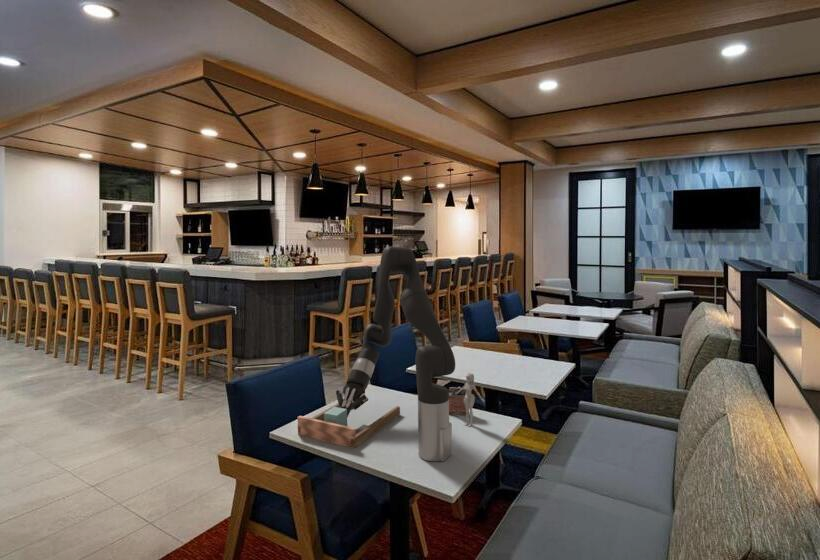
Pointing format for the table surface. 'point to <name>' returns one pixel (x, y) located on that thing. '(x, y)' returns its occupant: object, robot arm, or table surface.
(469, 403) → the human figurine
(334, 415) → the block
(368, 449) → the table surface
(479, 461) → the table surface
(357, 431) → the trap pads
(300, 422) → the lane box
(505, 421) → the table surface
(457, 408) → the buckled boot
